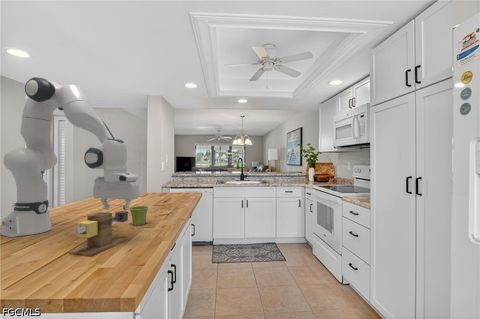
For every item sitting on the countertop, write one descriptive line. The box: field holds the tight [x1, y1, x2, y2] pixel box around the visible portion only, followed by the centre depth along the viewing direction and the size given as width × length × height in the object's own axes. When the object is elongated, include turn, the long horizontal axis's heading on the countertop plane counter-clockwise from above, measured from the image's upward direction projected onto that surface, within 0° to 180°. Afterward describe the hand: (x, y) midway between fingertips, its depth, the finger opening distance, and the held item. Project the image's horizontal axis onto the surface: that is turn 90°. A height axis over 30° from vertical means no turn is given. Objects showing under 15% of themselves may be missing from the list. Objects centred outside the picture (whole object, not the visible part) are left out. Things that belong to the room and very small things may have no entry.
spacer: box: [76, 220, 98, 239], centre depth 92 cm, size 4×5×5 cm
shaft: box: [75, 210, 129, 235], centre depth 100 cm, size 24×4×4 cm, turn 168°
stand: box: [68, 211, 127, 257], centre depth 98 cm, size 10×18×13 cm, turn 168°
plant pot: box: [128, 205, 149, 226], centre depth 133 cm, size 9×9×9 cm
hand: (116, 209), depth 107 cm, fingers open, 8 cm apart
